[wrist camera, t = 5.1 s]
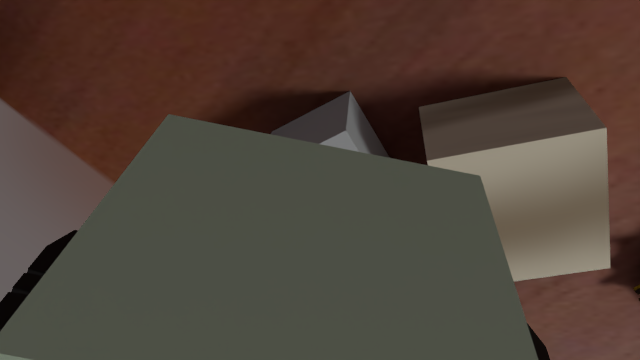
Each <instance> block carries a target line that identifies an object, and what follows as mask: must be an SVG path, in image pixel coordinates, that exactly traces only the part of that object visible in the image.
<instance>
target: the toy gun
mask: <svg viewBox="0 0 640 360" xmlns="http://www.w3.org/2000/svg"><path fill="white" fill-rule="evenodd" d="M633 289H634V291H635V292H636V293H637V294H640V285H638V286H636V287H634V288H633ZM639 301H640V298H639Z"/></svg>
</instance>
